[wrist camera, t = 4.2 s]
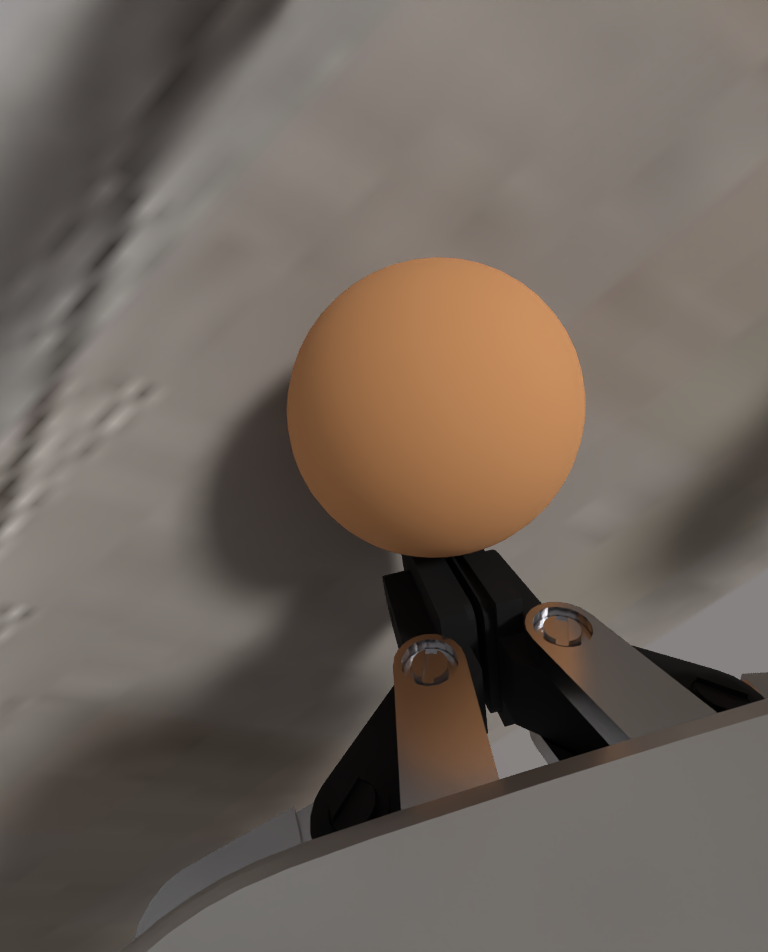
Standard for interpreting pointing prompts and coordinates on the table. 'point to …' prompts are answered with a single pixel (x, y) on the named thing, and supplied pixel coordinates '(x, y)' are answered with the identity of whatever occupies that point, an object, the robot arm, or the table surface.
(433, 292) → the ball
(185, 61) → the table surface
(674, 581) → the table surface
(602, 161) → the table surface
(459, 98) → the table surface
